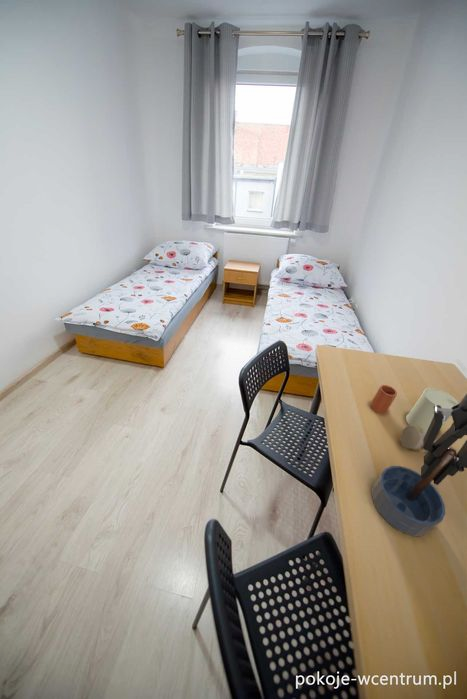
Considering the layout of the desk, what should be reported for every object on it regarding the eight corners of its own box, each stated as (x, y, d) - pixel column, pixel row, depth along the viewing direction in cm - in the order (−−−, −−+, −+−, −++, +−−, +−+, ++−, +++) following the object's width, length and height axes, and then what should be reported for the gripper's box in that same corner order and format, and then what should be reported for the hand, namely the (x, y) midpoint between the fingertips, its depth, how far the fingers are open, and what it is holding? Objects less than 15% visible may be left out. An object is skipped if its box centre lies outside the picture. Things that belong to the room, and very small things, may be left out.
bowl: (430, 498, 67) (444, 485, 64) (431, 550, 58) (446, 538, 54) (375, 470, 72) (384, 456, 69) (366, 513, 63) (377, 500, 59)
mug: (443, 463, 76) (446, 445, 70) (402, 460, 81) (401, 444, 75) (437, 438, 81) (439, 419, 75) (399, 436, 86) (398, 419, 80)
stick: (413, 497, 65) (458, 448, 54) (412, 504, 63) (459, 455, 53) (404, 493, 65) (447, 443, 55) (404, 499, 64) (448, 450, 54)
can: (441, 440, 83) (464, 413, 76) (408, 430, 85) (428, 402, 78) (434, 418, 90) (454, 392, 83) (403, 410, 92) (421, 383, 85)
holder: (387, 406, 93) (397, 389, 88) (385, 416, 89) (396, 398, 84) (371, 400, 95) (381, 382, 90) (369, 409, 91) (379, 391, 86)
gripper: (450, 390, 46) (390, 471, 59) (566, 433, 40) (471, 511, 54) (448, 368, 51) (393, 446, 65) (550, 403, 46) (467, 481, 59)
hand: (429, 476), depth 59 cm, fingers closed on stick, 2 cm apart
